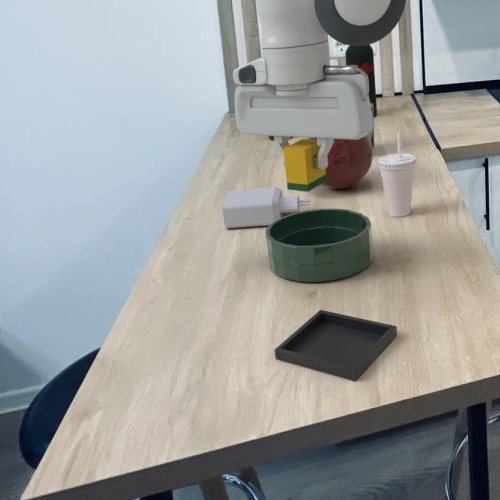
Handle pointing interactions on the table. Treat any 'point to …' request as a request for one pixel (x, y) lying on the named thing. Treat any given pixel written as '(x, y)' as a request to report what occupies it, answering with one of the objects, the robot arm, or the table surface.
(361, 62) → the wine bottle
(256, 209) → the charger
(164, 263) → the table surface
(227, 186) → the table surface
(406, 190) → the smoothie
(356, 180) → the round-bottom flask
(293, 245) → the basin
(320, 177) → the sponge
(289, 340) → the square tray
